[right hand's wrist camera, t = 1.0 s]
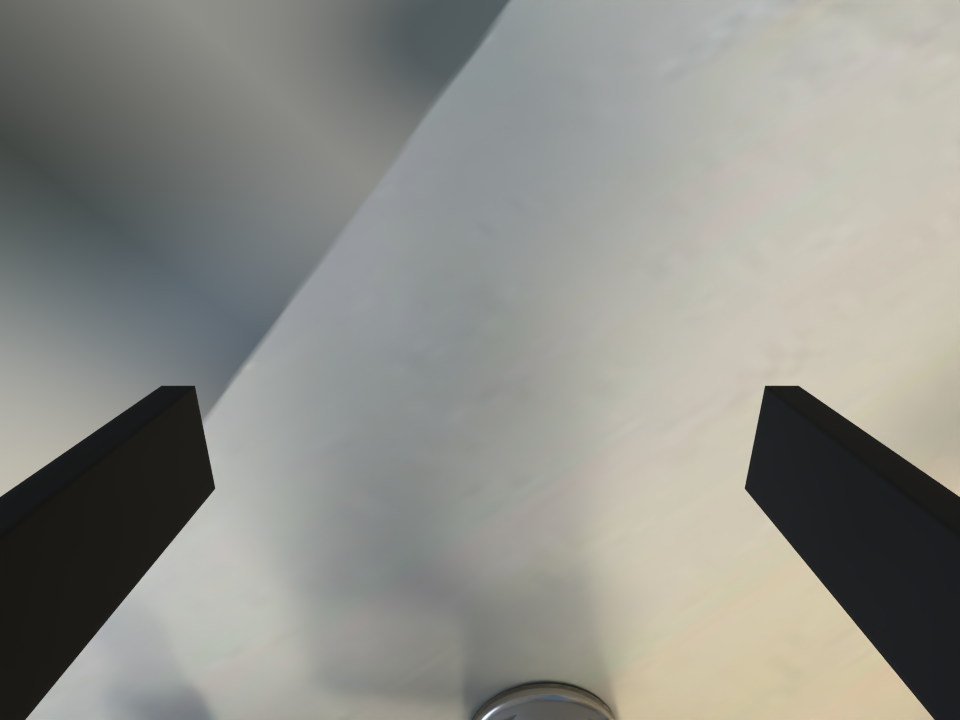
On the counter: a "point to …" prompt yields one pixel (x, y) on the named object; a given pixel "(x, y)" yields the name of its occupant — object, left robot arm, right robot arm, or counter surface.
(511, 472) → the counter surface
